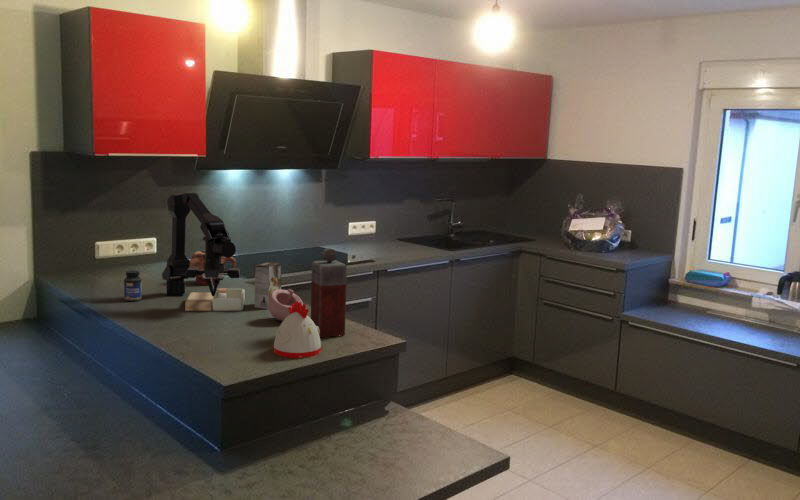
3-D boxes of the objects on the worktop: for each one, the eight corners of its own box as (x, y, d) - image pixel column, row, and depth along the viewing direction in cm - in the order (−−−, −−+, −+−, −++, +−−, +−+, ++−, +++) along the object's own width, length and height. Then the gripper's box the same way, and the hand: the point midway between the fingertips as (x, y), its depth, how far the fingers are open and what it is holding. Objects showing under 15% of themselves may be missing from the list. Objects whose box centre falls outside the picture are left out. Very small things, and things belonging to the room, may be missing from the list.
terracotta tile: (219, 290, 255) (226, 290, 256) (219, 288, 260) (226, 288, 260) (219, 302, 256) (225, 302, 257) (219, 299, 260) (226, 299, 261)
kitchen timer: (294, 361, 192) (294, 309, 190) (264, 350, 201) (264, 300, 199) (330, 351, 202) (331, 302, 200) (300, 342, 211) (301, 294, 209)
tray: (212, 310, 246) (212, 298, 245) (216, 300, 262) (216, 288, 262) (242, 310, 248) (242, 298, 247) (244, 300, 264) (244, 288, 264)
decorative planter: (235, 280, 302) (235, 249, 300) (236, 285, 290) (236, 253, 288) (188, 280, 297) (188, 249, 295) (187, 286, 285) (186, 253, 283)
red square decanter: (333, 327, 230) (335, 245, 226) (345, 335, 220) (347, 250, 216) (307, 329, 226) (309, 245, 222) (318, 338, 216) (320, 250, 212)
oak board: (185, 310, 244) (185, 302, 244) (190, 300, 260) (190, 292, 260) (211, 310, 246) (211, 302, 245) (215, 300, 262) (215, 292, 262)
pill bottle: (125, 302, 253) (124, 273, 251) (123, 299, 258) (122, 270, 256) (142, 301, 255) (142, 272, 254) (140, 298, 261) (140, 269, 259)
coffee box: (267, 302, 262) (267, 261, 259) (281, 304, 259) (282, 263, 257) (253, 307, 253) (254, 264, 251) (268, 309, 251) (269, 266, 248)
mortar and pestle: (286, 326, 228) (287, 293, 226) (260, 320, 234) (260, 288, 232) (309, 320, 238) (310, 288, 236) (283, 314, 244) (284, 283, 242)
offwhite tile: (218, 295, 247) (225, 295, 248) (219, 292, 252) (226, 292, 252) (218, 307, 248) (225, 307, 248) (219, 304, 252) (226, 304, 253)
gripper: (183, 257, 238) (183, 301, 240) (238, 257, 241) (238, 301, 243) (187, 252, 248) (187, 294, 251) (240, 253, 252) (239, 294, 254)
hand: (213, 296), depth 249 cm, fingers closed
